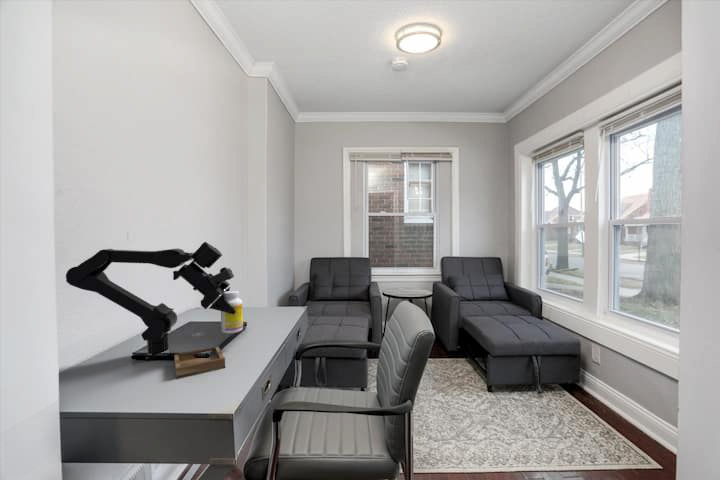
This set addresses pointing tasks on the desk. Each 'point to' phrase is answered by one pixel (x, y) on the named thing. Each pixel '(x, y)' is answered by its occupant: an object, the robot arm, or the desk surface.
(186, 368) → the walnut tray
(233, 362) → the desk surface
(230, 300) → the supplement bottle
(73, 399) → the desk surface
